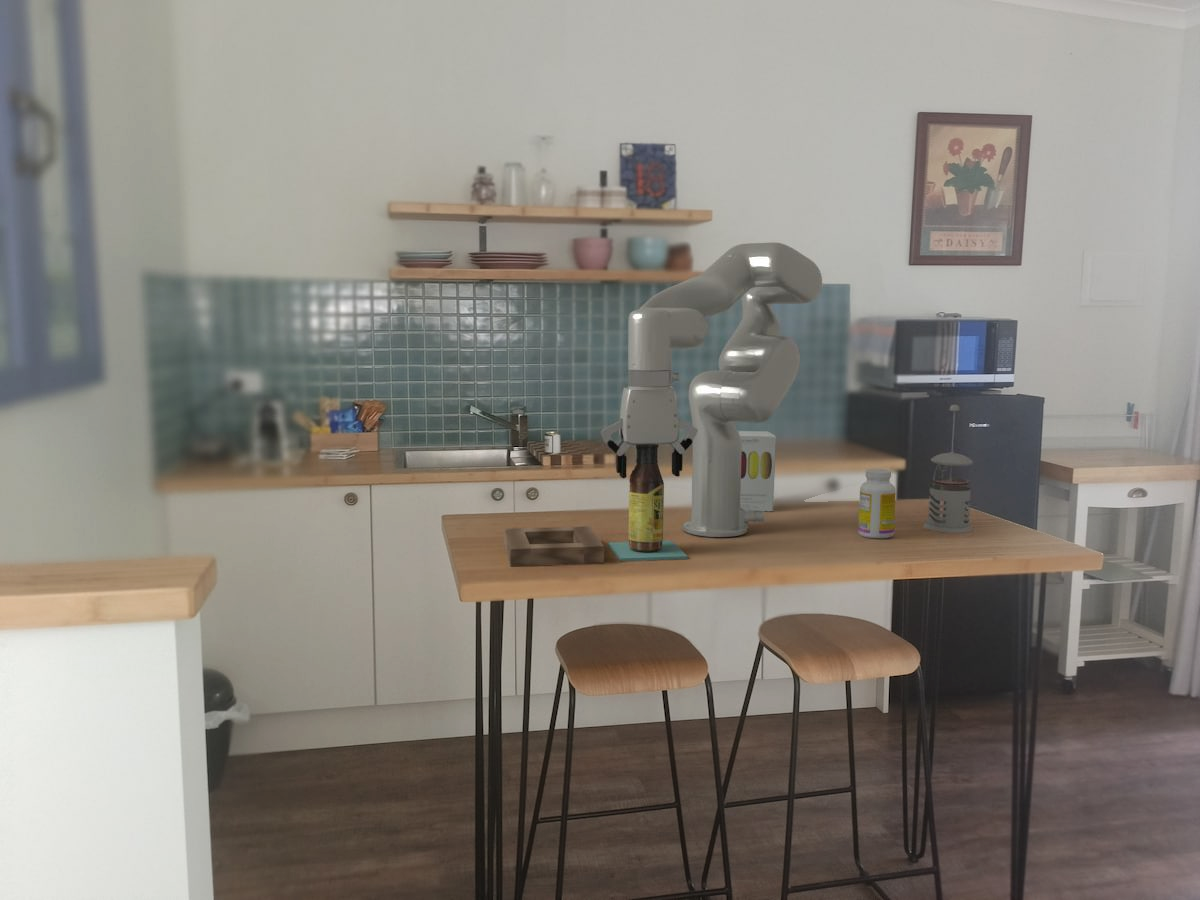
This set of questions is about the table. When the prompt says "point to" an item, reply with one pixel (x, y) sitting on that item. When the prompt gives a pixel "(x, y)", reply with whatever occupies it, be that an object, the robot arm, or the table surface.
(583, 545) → the pocket block
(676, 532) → the table surface
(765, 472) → the supplement box
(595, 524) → the table surface
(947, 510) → the french press
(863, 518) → the supplement bottle
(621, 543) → the teal mat
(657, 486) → the sauce bottle
